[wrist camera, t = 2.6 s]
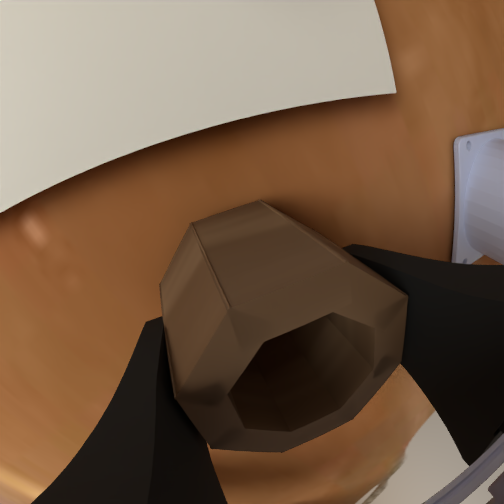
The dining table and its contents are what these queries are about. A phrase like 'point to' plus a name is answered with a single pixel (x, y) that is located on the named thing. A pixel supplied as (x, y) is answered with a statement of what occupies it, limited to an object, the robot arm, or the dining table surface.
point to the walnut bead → (274, 330)
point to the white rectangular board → (165, 74)
